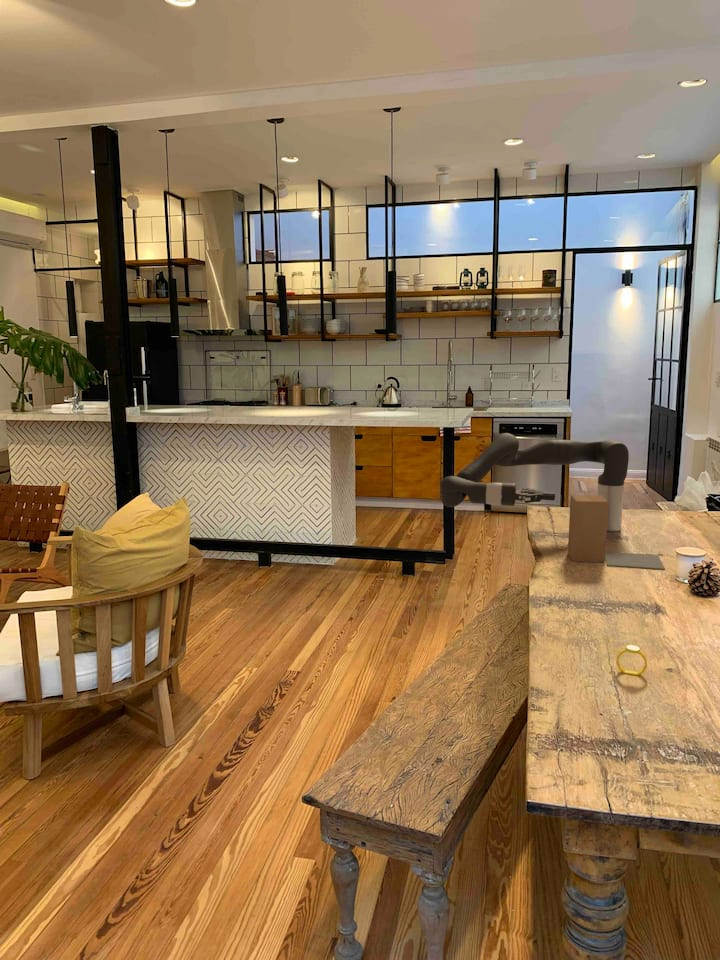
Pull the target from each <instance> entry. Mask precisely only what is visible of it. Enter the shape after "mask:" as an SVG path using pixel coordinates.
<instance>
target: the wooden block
mask: <svg viewBox="0 0 720 960" xmlns="http://www.w3.org/2000/svg"><path fill="white" fill-rule="evenodd" d="M569 503H570V505H569V519H568V523H569V525H568V540H567V541H568V542H567V553H568V555H569V557H570V559H571V560H572V562H573V563H574V562H575V563H606V560H605V552H607V551H606V550H607V534H608V533H607V532H608V531H607V520H608V504H609V503H608V501H607V500H606V499H604V498H603V497H602V496H601V495H596V494H595V495H594V494H593V495H591V494H572V495H570V502H569Z"/></svg>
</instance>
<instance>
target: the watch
mask: <svg viewBox="0 0 720 960" xmlns="http://www.w3.org/2000/svg"><path fill="white" fill-rule="evenodd" d="M627 652H628V653H630V654H638V655H640V656H641V657H642V658H643V661H644V665H643V667H642V668H641V669H640V670H638V671H634V670H626V669H625V668H624V667H622V666H621V663H620V661H619V659H620V657H621V656H622V654H624V653H627ZM616 666H617V668H618V670H619V672H621V673H622V674H626V675H632V676H636V677H638V676H641V675H642V674H644V672H645V671H646V669H647V667H648V659H647V657H646V655H645V653H644V652H643V651H642V650H641V649H640V647H639V646H637V645H633V644H629V645H628V644H627V645H626V646H625V648H622V649H621V650H620V651H619V652H618V653H617V656H616Z"/></svg>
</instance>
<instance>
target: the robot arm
mask: <svg viewBox="0 0 720 960" xmlns="http://www.w3.org/2000/svg"><path fill="white" fill-rule="evenodd" d="M519 447H520V442H519V439H518V438H517V437H516V435H513V434H512V433H509V432H502V433H500V434H497V435H496V436H495V438H494V439H493V440H492V441H491V443H490V444H489V445H488V446H487V447H486V449H484V450H483V452H481V453H480V454H479V455H478V456H477V457H476V458H475V459H474V460H472V461H471V462H470V463H469V464H468V465H466V466H465V467H463V469H461V470H460V471H459V472H457V474H456V475H449V476H445V477H444V478H442V479H441V481H440V483H439V484H440V486H439V488H440V500H441V504H443V505H444V507H447V508H454V507H457V506H460V504H461V503H463V502H464V500H465V499H466V497H467V498H468V500H469V501H470V503H472V504H479V505H480V504H483V505H492V506H504V507H506V506H507V507H514V506H515V505H516V501H520V503H524V504H529V503H540V502H541V501H555V500H556V493H555V492H544V491H542V490H540V489H534V488H529V487H526V488H525V487H523V488H521V489H517V484H516V483H515V482H514V483H513V482H497V481H496V482H482V480H483V479H484V478H485V477H486V476H487V475H488V473H489V472H490V471H491V470H492V469H493V467H494V466H499V467H517V466H527V465H552V466H568V465H573V464H578V463H580V462H581V463H582V462H591V463H598V464H603V472H602V473H601V474H600V475H599V476H597V477H598V478H597V489H596V490H597V491H596V492H597V493H596V494H597V495H601V496H602V497H603V498H604V499H606V500H607V501H608V503H609V504H608V520H607V532H619V531H621V530H622V521H623V520H622V519H623V507H624V506H623V505H624V490H625V489H624V487H625V480H626V478H627V475H628V469H629V459H630V456H629V455H630V454H629V449H628V447H627V445H626V444H624V443H622V442H619V441H616V440H612V439H607V440H605V439H604V440H596V441H580V440H572V439H571V440H569V439H547V440H544V441H541V442H539V443H536V444H534V445H532V446H529V447H525V448H519Z"/></svg>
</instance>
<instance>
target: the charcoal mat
mask: <svg viewBox="0 0 720 960" xmlns="http://www.w3.org/2000/svg"><path fill="white" fill-rule="evenodd" d="M605 563H606V566H607V567H616V568H617V567H618V568H633V569H646V568H648V569H647V570H660V569H663V570H662V571H665V570H666V568H665V566H664V564H663V562H662V559H661V558H660V556H659V555H658V554H648V553H631V552H615V551H606V552H605Z"/></svg>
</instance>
